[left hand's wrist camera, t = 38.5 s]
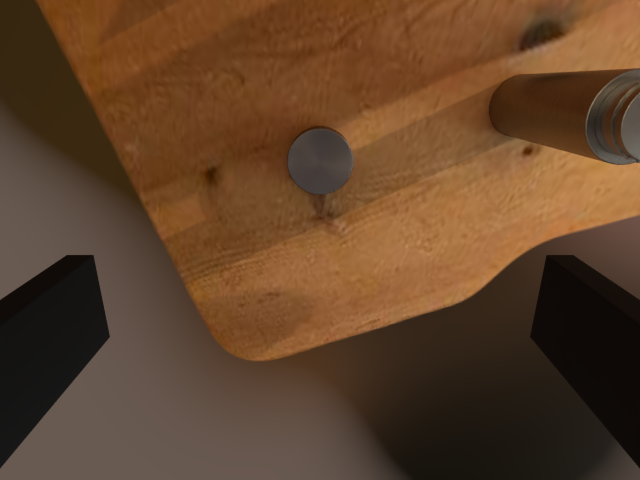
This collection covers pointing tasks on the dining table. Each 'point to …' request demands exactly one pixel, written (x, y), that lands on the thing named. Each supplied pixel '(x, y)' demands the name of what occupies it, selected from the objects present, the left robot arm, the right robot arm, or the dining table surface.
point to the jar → (574, 112)
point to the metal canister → (320, 160)
